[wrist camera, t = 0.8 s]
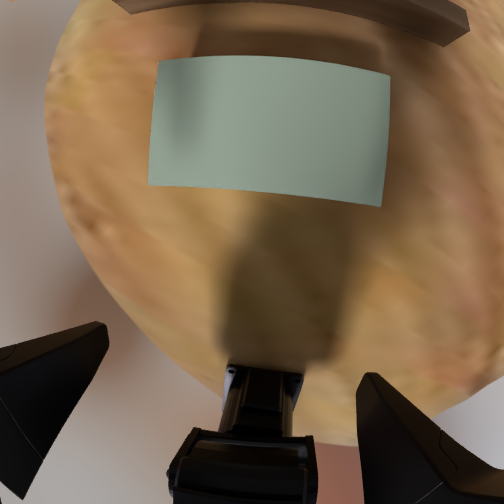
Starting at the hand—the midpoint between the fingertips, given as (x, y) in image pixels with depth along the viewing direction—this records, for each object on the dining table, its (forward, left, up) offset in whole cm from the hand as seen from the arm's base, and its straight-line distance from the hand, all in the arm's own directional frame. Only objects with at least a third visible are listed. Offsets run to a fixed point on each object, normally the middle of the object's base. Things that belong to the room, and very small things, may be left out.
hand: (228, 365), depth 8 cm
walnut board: (+19, 0, -11) cm, 22 cm away
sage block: (+8, 0, -11) cm, 14 cm away
